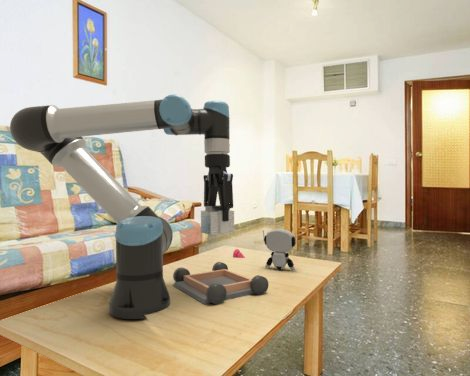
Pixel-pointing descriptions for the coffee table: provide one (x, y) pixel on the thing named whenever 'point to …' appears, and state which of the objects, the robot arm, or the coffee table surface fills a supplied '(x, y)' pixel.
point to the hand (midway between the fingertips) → (218, 231)
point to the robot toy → (280, 248)
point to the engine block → (214, 220)
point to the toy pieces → (238, 254)
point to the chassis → (218, 284)
